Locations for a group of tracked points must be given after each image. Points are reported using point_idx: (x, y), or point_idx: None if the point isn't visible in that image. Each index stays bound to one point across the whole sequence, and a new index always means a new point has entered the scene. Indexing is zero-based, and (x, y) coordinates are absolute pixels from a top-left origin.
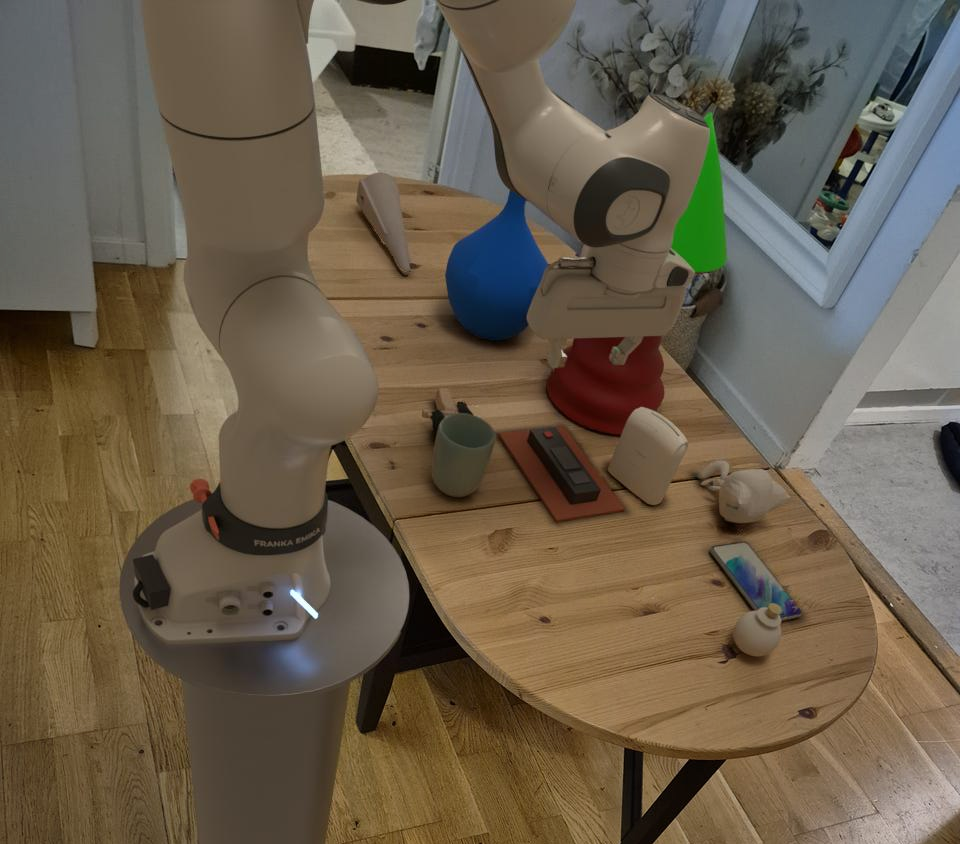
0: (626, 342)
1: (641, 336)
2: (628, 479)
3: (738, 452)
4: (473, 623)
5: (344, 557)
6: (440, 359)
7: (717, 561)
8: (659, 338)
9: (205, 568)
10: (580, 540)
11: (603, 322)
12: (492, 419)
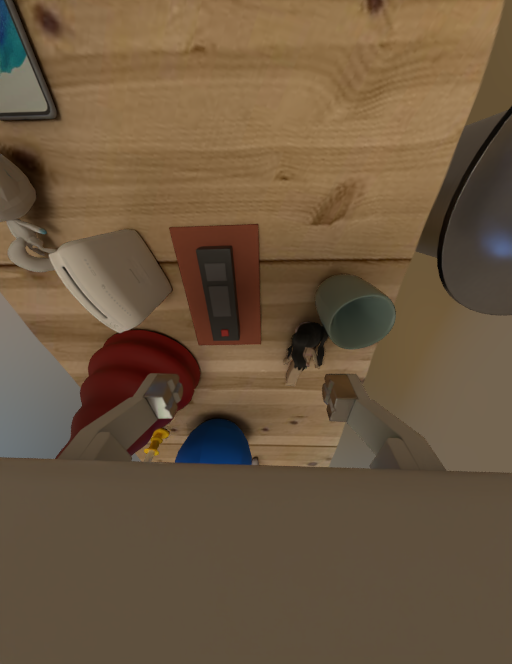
0: (132, 429)
1: (69, 454)
2: (154, 266)
3: (12, 295)
4: (476, 29)
5: (507, 213)
6: (267, 407)
7: (43, 79)
8: (75, 418)
9: None
10: (241, 186)
11: (284, 582)
12: (256, 358)
